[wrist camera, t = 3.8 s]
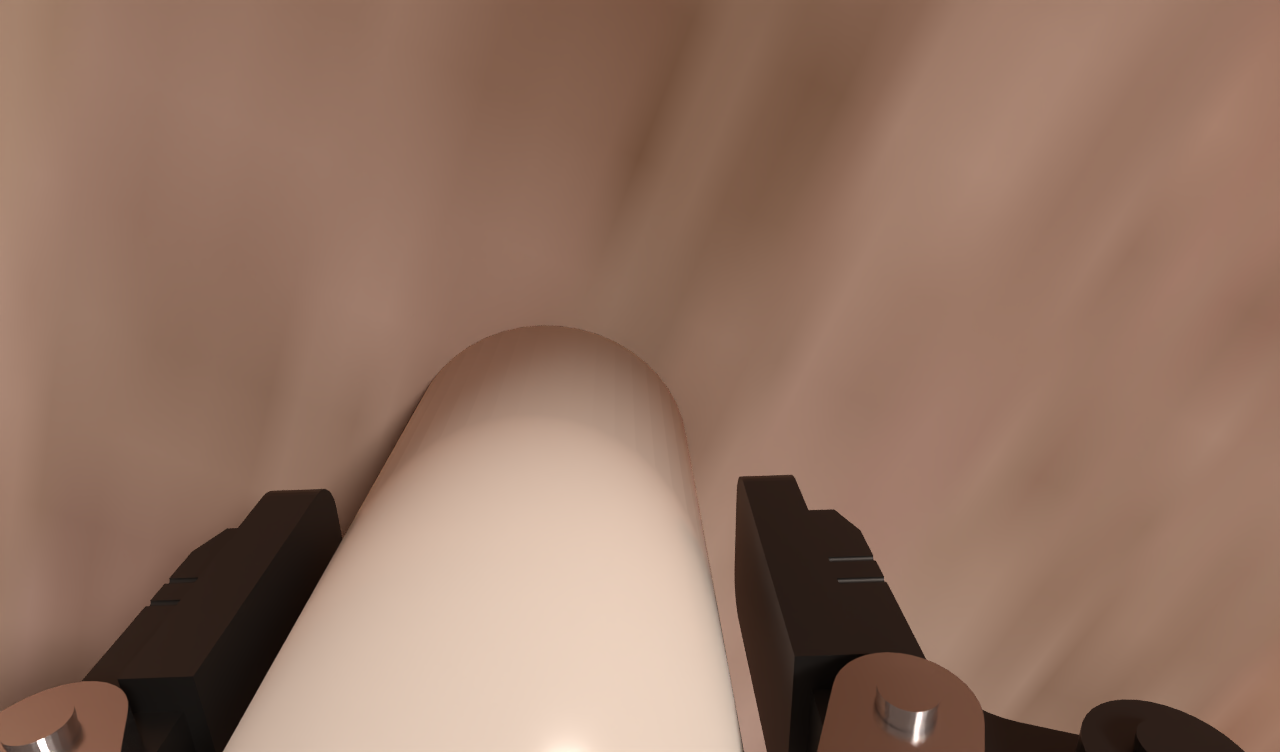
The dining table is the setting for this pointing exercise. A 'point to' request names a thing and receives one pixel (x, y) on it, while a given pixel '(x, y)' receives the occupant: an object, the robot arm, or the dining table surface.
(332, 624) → the salt shaker
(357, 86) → the dining table surface
